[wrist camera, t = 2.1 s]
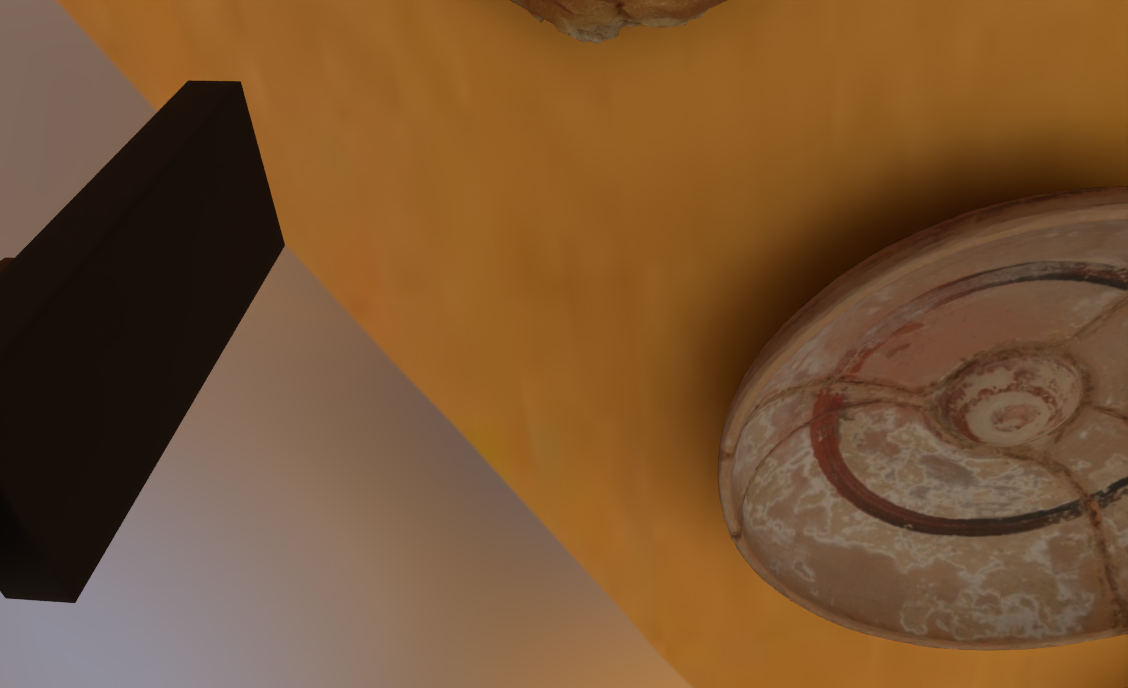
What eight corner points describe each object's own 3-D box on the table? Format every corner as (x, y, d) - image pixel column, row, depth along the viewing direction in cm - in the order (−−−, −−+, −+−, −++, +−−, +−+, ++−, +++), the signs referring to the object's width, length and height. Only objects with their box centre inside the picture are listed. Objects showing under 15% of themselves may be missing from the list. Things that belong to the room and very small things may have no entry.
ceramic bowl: (890, 618, 47) (909, 708, 43) (599, 351, 37) (590, 438, 33) (1419, 433, 36) (1508, 534, 32) (1208, -26, 26) (1301, 42, 22)
